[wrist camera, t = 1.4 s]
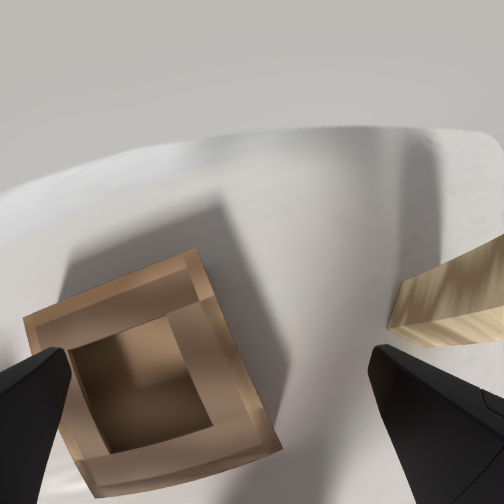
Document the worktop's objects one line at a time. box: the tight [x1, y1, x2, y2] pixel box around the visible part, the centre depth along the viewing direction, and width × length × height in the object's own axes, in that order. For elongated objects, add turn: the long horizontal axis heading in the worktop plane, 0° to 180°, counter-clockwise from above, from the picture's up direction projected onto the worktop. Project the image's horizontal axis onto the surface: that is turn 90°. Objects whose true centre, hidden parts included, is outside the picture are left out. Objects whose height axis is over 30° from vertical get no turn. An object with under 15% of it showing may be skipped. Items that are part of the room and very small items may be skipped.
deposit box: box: [23, 248, 283, 499], centre depth 18 cm, size 14×14×4 cm
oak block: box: [386, 234, 504, 347], centre depth 17 cm, size 4×4×14 cm
